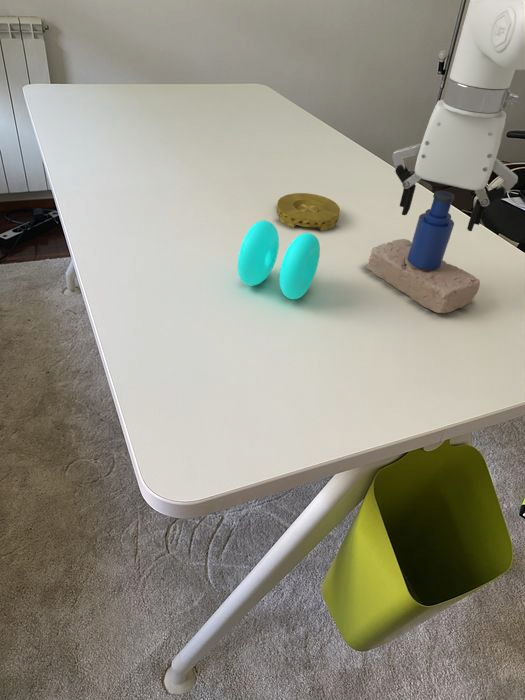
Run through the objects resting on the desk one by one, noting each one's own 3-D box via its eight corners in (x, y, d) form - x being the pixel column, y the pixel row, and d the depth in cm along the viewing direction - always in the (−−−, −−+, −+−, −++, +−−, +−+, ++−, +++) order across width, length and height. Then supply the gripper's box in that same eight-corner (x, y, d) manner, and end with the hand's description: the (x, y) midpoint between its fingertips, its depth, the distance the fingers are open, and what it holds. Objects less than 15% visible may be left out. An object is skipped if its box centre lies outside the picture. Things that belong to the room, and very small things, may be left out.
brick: (363, 269, 92) (369, 244, 89) (398, 257, 96) (404, 233, 94) (439, 320, 82) (448, 294, 79) (474, 305, 87) (484, 280, 84)
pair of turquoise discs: (260, 265, 91) (266, 208, 84) (317, 283, 88) (326, 225, 81) (232, 293, 83) (236, 233, 77) (293, 313, 80) (301, 253, 74)
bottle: (442, 258, 88) (464, 192, 81) (438, 273, 84) (460, 205, 77) (410, 250, 89) (429, 184, 82) (404, 264, 85) (423, 196, 78)
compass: (336, 206, 111) (338, 196, 110) (339, 234, 102) (341, 223, 100) (277, 200, 111) (278, 190, 110) (275, 227, 102) (276, 216, 100)
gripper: (544, 103, 72) (498, 223, 83) (413, 80, 76) (386, 197, 87) (544, 117, 66) (495, 244, 77) (403, 91, 71) (375, 215, 81)
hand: (437, 219), depth 82 cm, fingers open, 9 cm apart
